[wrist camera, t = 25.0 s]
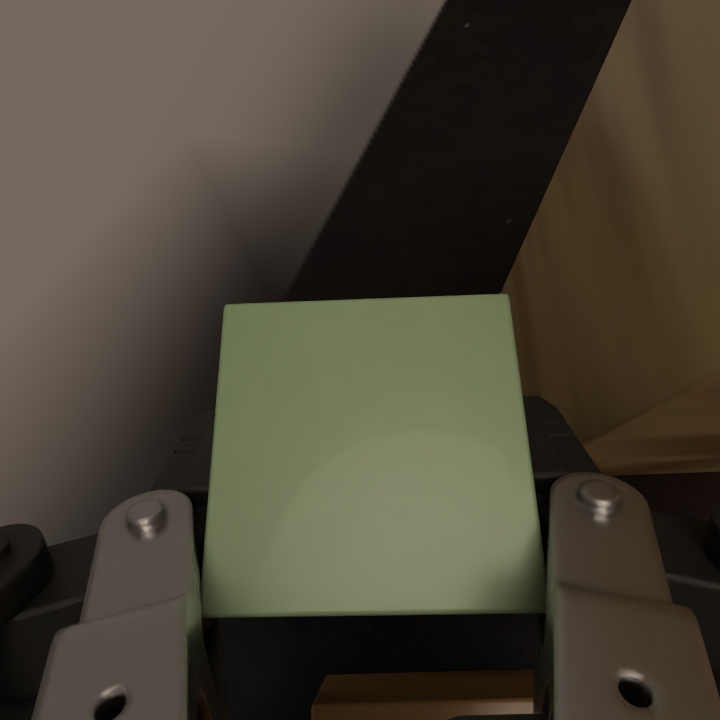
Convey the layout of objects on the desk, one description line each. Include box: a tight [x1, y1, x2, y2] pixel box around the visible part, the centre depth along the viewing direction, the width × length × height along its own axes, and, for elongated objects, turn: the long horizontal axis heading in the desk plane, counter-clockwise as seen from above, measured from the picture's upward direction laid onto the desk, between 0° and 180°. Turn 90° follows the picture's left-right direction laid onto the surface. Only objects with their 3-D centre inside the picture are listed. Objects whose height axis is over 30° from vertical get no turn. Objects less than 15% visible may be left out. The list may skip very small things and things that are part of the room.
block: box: [200, 294, 547, 618], centre depth 11 cm, size 4×4×7 cm
